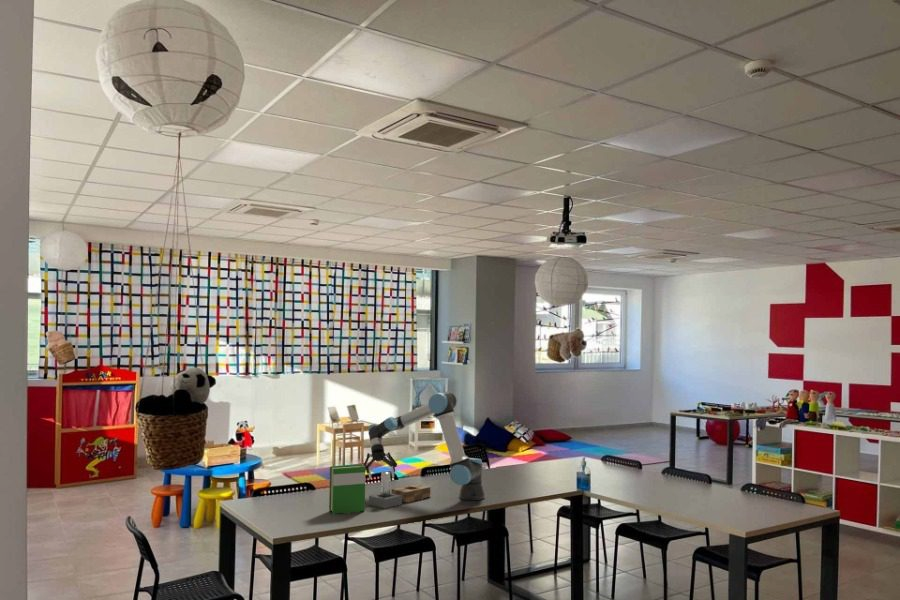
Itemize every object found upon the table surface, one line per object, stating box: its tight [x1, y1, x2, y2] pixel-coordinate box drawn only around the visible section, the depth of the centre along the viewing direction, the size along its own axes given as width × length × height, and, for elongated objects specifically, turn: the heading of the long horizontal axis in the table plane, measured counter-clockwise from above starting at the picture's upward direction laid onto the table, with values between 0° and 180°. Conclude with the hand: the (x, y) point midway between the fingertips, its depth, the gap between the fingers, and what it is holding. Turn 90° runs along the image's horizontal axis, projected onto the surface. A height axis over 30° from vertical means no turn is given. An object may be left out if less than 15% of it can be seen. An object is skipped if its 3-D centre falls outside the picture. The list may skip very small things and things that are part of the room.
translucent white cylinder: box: [380, 471, 391, 498], centre depth 385 cm, size 5×5×18 cm
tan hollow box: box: [391, 484, 431, 503], centre depth 401 cm, size 12×20×6 cm, turn 137°
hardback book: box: [328, 464, 366, 515], centre depth 369 cm, size 18×7×24 cm, turn 114°
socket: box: [368, 492, 403, 509], centre depth 385 cm, size 13×13×5 cm
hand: (381, 477), depth 396 cm, fingers open, 13 cm apart
